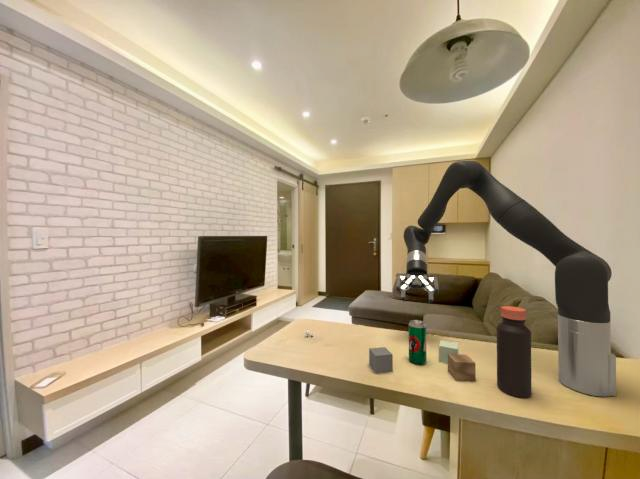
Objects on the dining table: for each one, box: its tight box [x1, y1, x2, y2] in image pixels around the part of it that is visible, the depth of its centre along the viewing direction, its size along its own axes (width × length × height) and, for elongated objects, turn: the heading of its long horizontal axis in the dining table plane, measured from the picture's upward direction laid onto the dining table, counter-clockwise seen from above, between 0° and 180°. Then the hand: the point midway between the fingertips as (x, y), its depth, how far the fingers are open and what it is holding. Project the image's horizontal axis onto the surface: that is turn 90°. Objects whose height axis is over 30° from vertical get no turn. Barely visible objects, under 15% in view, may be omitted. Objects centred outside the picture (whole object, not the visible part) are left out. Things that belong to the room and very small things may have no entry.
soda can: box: [408, 319, 427, 366], centre depth 78 cm, size 5×5×12 cm
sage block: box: [438, 339, 459, 365], centre depth 79 cm, size 5×5×5 cm
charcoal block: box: [368, 346, 394, 374], centre depth 74 cm, size 5×5×5 cm
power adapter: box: [304, 328, 314, 338], centre depth 99 cm, size 3×3×3 cm
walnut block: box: [447, 353, 477, 383], centre depth 70 cm, size 5×5×5 cm
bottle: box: [496, 305, 533, 399], centre depth 63 cm, size 7×7×20 cm
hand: (416, 301), depth 89 cm, fingers open, 8 cm apart
